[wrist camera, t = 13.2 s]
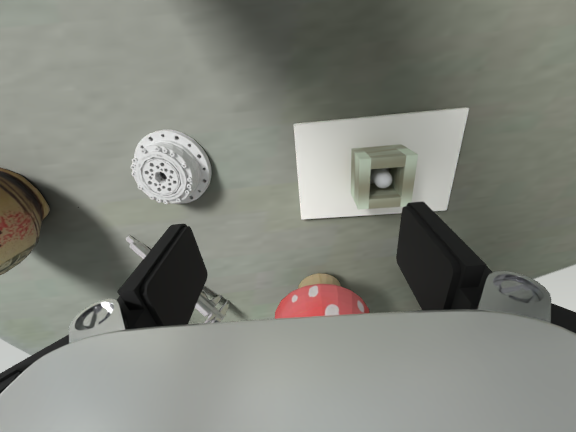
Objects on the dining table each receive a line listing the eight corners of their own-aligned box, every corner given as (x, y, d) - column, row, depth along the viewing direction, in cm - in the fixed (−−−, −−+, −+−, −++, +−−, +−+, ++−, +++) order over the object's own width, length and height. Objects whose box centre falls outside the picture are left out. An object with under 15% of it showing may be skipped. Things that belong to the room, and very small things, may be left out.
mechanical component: (205, 208, 38) (219, 145, 33) (193, 223, 34) (208, 154, 29) (137, 186, 36) (143, 117, 32) (118, 198, 32) (120, 122, 28)
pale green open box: (351, 148, 31) (359, 159, 27) (401, 144, 31) (418, 154, 26) (350, 193, 34) (358, 209, 30) (396, 189, 33) (410, 206, 29)
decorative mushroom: (312, 318, 47) (316, 410, 34) (262, 275, 43) (245, 361, 30) (373, 284, 43) (406, 375, 29) (325, 232, 38) (338, 312, 25)
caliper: (230, 300, 46) (221, 329, 41) (227, 303, 47) (217, 332, 41) (130, 233, 40) (103, 257, 35) (127, 237, 41) (99, 261, 35)
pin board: (293, 123, 31) (292, 131, 26) (464, 107, 29) (496, 112, 24) (301, 216, 37) (301, 236, 32) (442, 207, 35) (465, 226, 30)
